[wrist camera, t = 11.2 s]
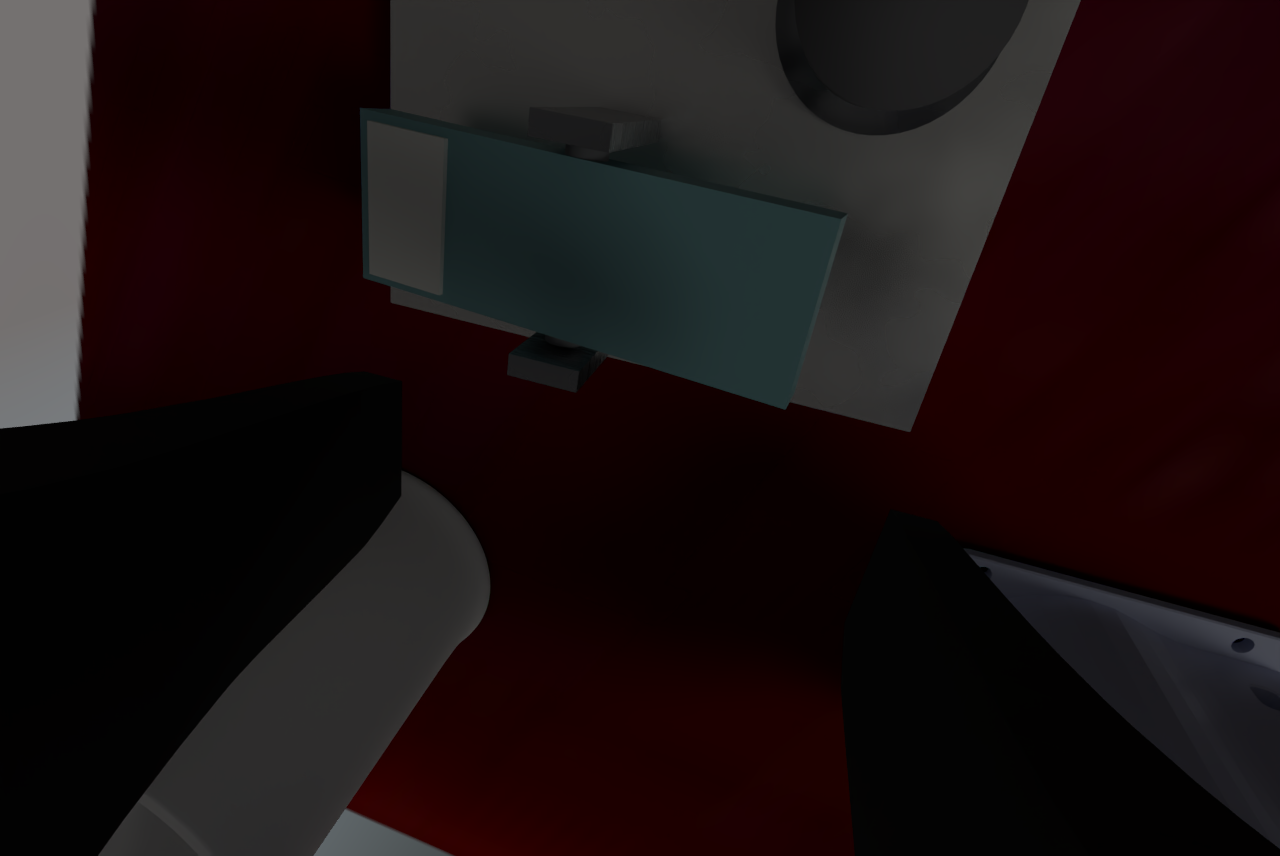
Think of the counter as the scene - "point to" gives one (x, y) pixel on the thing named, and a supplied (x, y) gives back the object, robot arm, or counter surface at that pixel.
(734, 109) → the panel
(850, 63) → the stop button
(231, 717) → the mug
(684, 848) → the counter surface
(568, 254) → the teal tile with stripe
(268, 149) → the counter surface
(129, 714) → the robot arm
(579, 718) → the counter surface
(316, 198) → the counter surface
